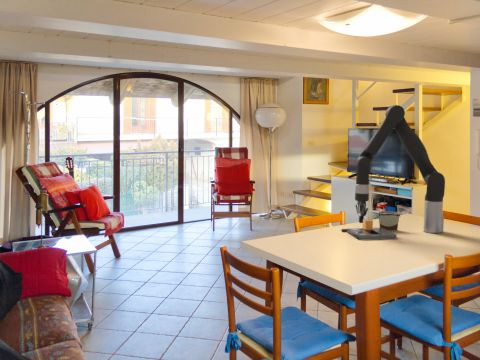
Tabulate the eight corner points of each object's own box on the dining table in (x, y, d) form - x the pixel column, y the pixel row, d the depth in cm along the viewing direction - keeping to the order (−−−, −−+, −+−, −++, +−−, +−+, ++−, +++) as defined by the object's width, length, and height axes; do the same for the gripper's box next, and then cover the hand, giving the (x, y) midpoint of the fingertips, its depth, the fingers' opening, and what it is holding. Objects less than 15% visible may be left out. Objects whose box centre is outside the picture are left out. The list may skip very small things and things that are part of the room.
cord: (346, 232, 259) (346, 230, 258) (349, 232, 259) (349, 230, 259) (357, 239, 242) (357, 237, 242) (360, 239, 242) (360, 236, 242)
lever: (369, 231, 259) (369, 219, 258) (372, 232, 255) (372, 220, 254) (362, 231, 259) (362, 219, 258) (365, 232, 255) (365, 220, 254)
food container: (397, 228, 269) (397, 211, 268) (399, 230, 263) (400, 213, 262) (375, 228, 270) (375, 210, 269) (377, 230, 264) (377, 212, 263)
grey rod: (359, 230, 263) (359, 228, 263) (360, 231, 262) (360, 228, 262) (340, 231, 262) (340, 228, 262) (341, 231, 261) (341, 229, 260)
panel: (381, 231, 262) (382, 227, 262) (396, 238, 244) (396, 234, 244) (347, 232, 260) (347, 228, 259) (359, 239, 242) (359, 235, 242)
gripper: (373, 193, 257) (372, 225, 259) (364, 190, 270) (363, 220, 272) (360, 193, 256) (359, 225, 258) (351, 190, 270) (350, 220, 271)
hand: (361, 222), depth 265 cm, fingers closed
